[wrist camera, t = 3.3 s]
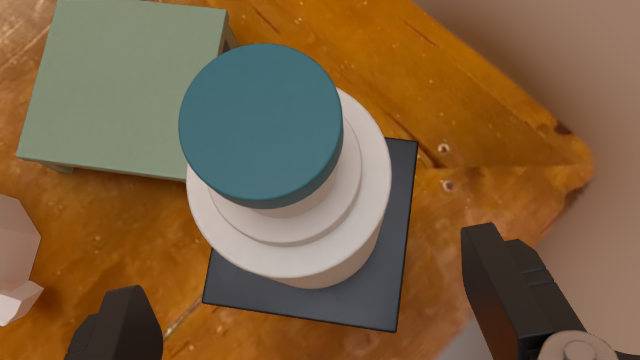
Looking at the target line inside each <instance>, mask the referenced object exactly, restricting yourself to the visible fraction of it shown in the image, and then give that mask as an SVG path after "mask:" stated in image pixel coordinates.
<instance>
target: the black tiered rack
mask: <svg viewBox="0 0 640 360" xmlns="http://www.w3.org/2000/svg"><path fill="white" fill-rule="evenodd" d="M384 139H385V141H386V144H387V147H388V151H389V155H390V160H391V171H392V179H391V190H390V195H389V200H388V204H387V207H386V211H385V214H384V217H383V221H382V224H381V228H380V231H379V234H378V238H377V241H376V244H375V247H374V249H373V251H372V253H371V255H370V256H369V258H368V259H367V261H366V262H365V263H364V265H363V266H362V267H361V268H360V269H359V270H358V271H357V272H356V273H354V274H353V275H352V276H350V277H349V278H347V279H346V280H344V281H342V282H340V283H338V284H335V285H332V286H329V287H325V288H319V289H305V288H298V287H294V286H290V285H287V284H284V283H281V282H278V281H275V280H272V279H269V278H266V277H263V276H260V275H257V274H254V273H251V272H249V271H246V270H244V269H242V268H240V267H238V266H236V265H234V264H232V263H231V262H229V261H228V260H227V259H225V258H224V257H222V256H221V255H220V254H219V253H218V252H217V251H216V250H215V249H214V248H213V247H212V249H211V254H210V259H209V265H208V270H207V275H206V281H205V286H204V291H203V297H202V303H203V304H209V305H216V306H222V307H228V308H235V309H241V310H248V311H254V312H261V313H267V314H273V315H280V316H286V317H293V318H299V319H306V320H312V321H318V322H325V323H331V324H338V325H344V326H351V327H357V328H364V329H370V330H376V331H383V332H389V333H396V332H397V325H398V316H399V308H400V299H401V290H402V282H403V273H404V265H405V256H406V247H407V239H408V230H409V221H410V213H411V204H412V196H413V187H414V178H415V170H416V161H417V152H418V144H419V143H418V141H412V140H404V139H396V138H388V137H384Z"/></svg>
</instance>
